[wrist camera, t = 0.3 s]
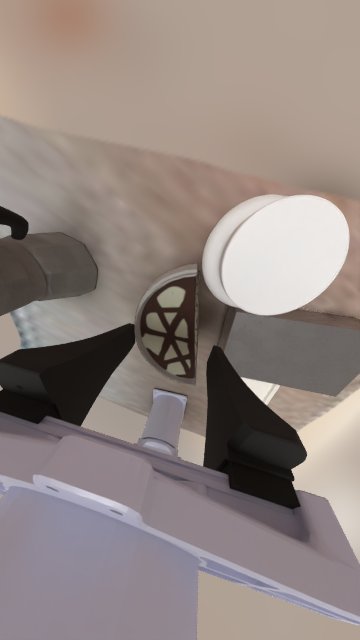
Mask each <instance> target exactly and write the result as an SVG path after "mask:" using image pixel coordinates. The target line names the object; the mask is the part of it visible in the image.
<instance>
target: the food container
mask: <svg viewBox="0 0 360 640" xmlns="http://www.w3.org/2000/svg"><path fill="white" fill-rule="evenodd" d="M197 267H198V263H197V264H190V265H184V266H181V267H178V268H175V269H173V270H171V271H169V272H167V273H165V274H163V275H162V276H160V277H159V278H158V279H156V280H155V281H154V282H153V283H152V284H151V286H150V287H149V288H148V289H147V291H146V292H145V294H144V296H143V297H142V299H141V301H140V304H139V306H138V308H137V311H136V316H135V338H136V342H137V345H138V348H139V350H140V352H141V354H142V355H143V357H144V358H145V359H146V361H147V362H148V363H149V364H150V365H151V366H152V367H153V368H154V369H155V370H156V371H158V372H159V373H161V374H162V375H164V376H165V377H167V378H169V379H171V380H174V381H176V382H179V383H182V384H186V385H191V386H195V383H196V365H197V348H198V330H199V280H200V271H197Z"/></svg>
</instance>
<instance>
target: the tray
mask: <svg viewBox="0 0 360 640" xmlns="http://www.w3.org/2000/svg"><path fill="white" fill-rule="evenodd" d="M241 379H242V380H243V381H244V382H245V383H246V385H247V386H248V387H249V388H250V389H251V390H252V391H253V392H254V393H255V394H256V395H257V396H258V398H259V399H260V400H261V401H263V402H264V403H265V404H266V405H267V404H268V403H269V401H270V400H271V398H272V397H273V395H274V394H275V392H276V391H277V389H278V388H279V386H280V385H277V384H272V383H267V382H262V381H257V380H252V379H247V378H243V377H241Z"/></svg>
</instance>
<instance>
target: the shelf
mask: <svg viewBox="0 0 360 640" xmlns="http://www.w3.org/2000/svg"><path fill="white" fill-rule="evenodd" d="M218 347H221V349H222V350H223V352H224V354H225V355H226V357H227V359H228V360H229V362H230V363H231V365H232V366H233V368H234V369H235V371H236V372H237V373H238V375H239V376H240V377H243V378H247V379H252V380H257V381H262V382H267V383H272V384H277V385H282V386H286V387H291V388H296V389H301V390H306V391H311V392H316V393H321V394H326V395H330V396H335V397H336V396H337V395H338V394H339V393H340V392H341V391H342V390H343V389H344V388H345V387H346V386H347V385H348V384H349V383H350V382H351V381H352V380H353V379H354V378H355V377H356V376H357V375H358V374H359V373H360V320H359V319H357V318H353V317H346V316H339V315H332V314H325V313H318V312H311V311H304V310H297V309H295V310H292V311H289V312H286V313H282V314H277V315H257V314H252V313H249V312H246V311H244V310H242V309H241V308H237V307H232V306H229V307H228V311H227V314H226V318H225V322H224V325H223V329H222V332H221V336H220V339H219V343H218Z"/></svg>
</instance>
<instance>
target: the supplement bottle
mask: <svg viewBox="0 0 360 640" xmlns="http://www.w3.org/2000/svg"><path fill="white" fill-rule="evenodd" d="M348 248H349V229H348V225H347V222H346V219H345V217H344V215H343V213H342V212H341V211H340V210H339V209H338V208H337V207H336V206H335V205H334V204H333V203H331V202H330V201H328V200H326V199H324V198H320V197H317V196H313V195H295V196H289V197H286V196H282V195H263V196H258V197H254V198H251V199H249V200H246V201H244V202H242V203H240V204H239V205H237V206H235V207H234V208H233V209H231V210H230V211H229V212H228V213H226V214H225V215H224V216H223V217H222V218H221V220H220V221H219V222H218V223H217V225H216V226H215V227H214V229H213V230H212V232H211V234H210V235H209V237H208V240H207V242H206V245H205V248H204V252H203V257H202V271H203V276H204V280H205V282H206V285H207V287H208V288H209V290H210V291H211V292H212V294H213V295H214V296H215V297H216V298H217V299H219V300H220V301H221V302H223V303H225V304H227V305H229V306H232V307H237V308H241V309H242V310H244V311H246V312H249V313H252V314H257V315H277V314H282V313H286V312H289V311H292V310H295V309H297V308H299V307H302V306H303V305H305V304H307V303H309V302H310V301H312V300H313V299H314V298H316V297H317V296H318V295H320V294H321V293H322V292H323V291H324V290H325V289H326V288H327V287H328V286H329V285H330V283H331V282H332V281H333V280H334V279H335V277H336V276H337V274H338V273H339V271H340V269H341V267H342V265H343V263H344V261H345V258H346V255H347V252H348Z"/></svg>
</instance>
